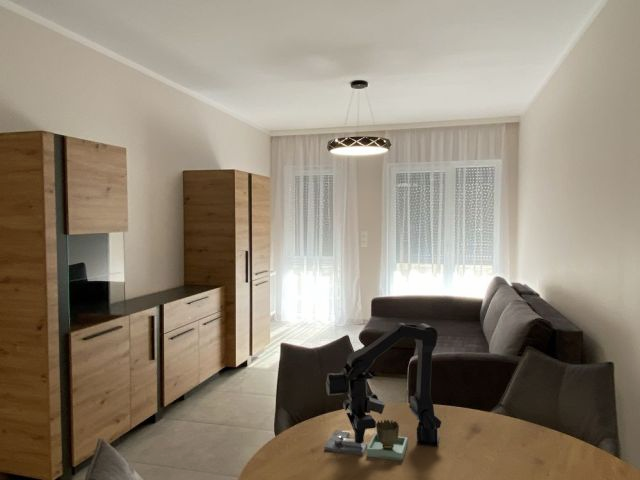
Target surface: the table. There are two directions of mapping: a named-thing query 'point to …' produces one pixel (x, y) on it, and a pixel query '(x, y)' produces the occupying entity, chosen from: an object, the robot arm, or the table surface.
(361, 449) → the grey l-bracket
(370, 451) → the tray
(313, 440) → the table surface
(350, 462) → the table surface
